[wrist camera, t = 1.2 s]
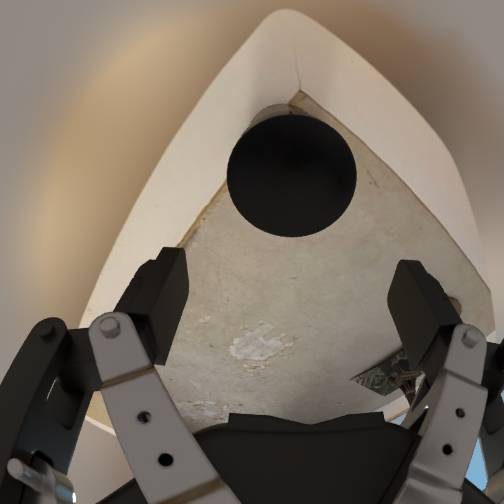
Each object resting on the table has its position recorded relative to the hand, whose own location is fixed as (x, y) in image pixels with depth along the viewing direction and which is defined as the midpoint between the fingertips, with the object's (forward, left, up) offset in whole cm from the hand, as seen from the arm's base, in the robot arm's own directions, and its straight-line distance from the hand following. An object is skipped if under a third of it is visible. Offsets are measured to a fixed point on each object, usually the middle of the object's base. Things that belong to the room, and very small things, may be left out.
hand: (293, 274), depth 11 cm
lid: (-2, 0, -6) cm, 6 cm away
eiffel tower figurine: (+32, +20, -18) cm, 42 cm away
